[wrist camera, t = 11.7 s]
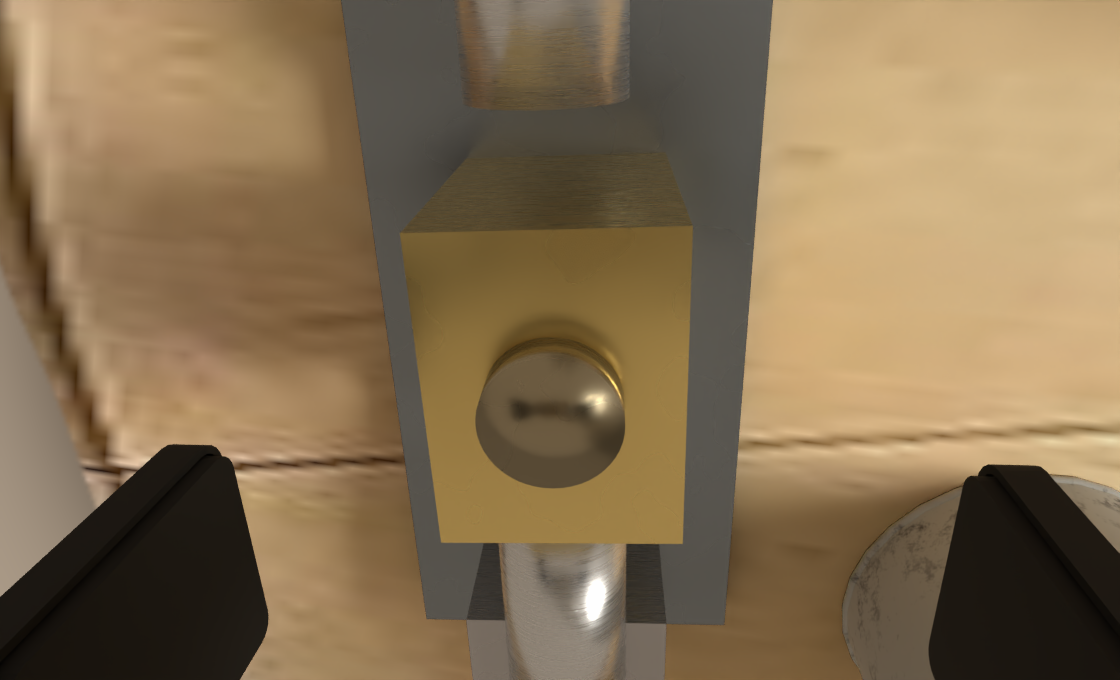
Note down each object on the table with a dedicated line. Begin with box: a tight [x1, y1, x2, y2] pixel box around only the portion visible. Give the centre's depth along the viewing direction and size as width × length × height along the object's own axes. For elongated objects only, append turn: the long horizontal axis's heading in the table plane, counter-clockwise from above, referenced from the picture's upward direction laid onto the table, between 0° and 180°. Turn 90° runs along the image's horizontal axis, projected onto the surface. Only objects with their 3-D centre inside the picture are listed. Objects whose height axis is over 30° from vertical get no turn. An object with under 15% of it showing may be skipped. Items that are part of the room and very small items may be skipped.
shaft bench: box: [341, 0, 773, 680], centre depth 17 cm, size 22×9×6 cm, turn 2°
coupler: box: [400, 152, 693, 544], centre depth 15 cm, size 6×4×7 cm
